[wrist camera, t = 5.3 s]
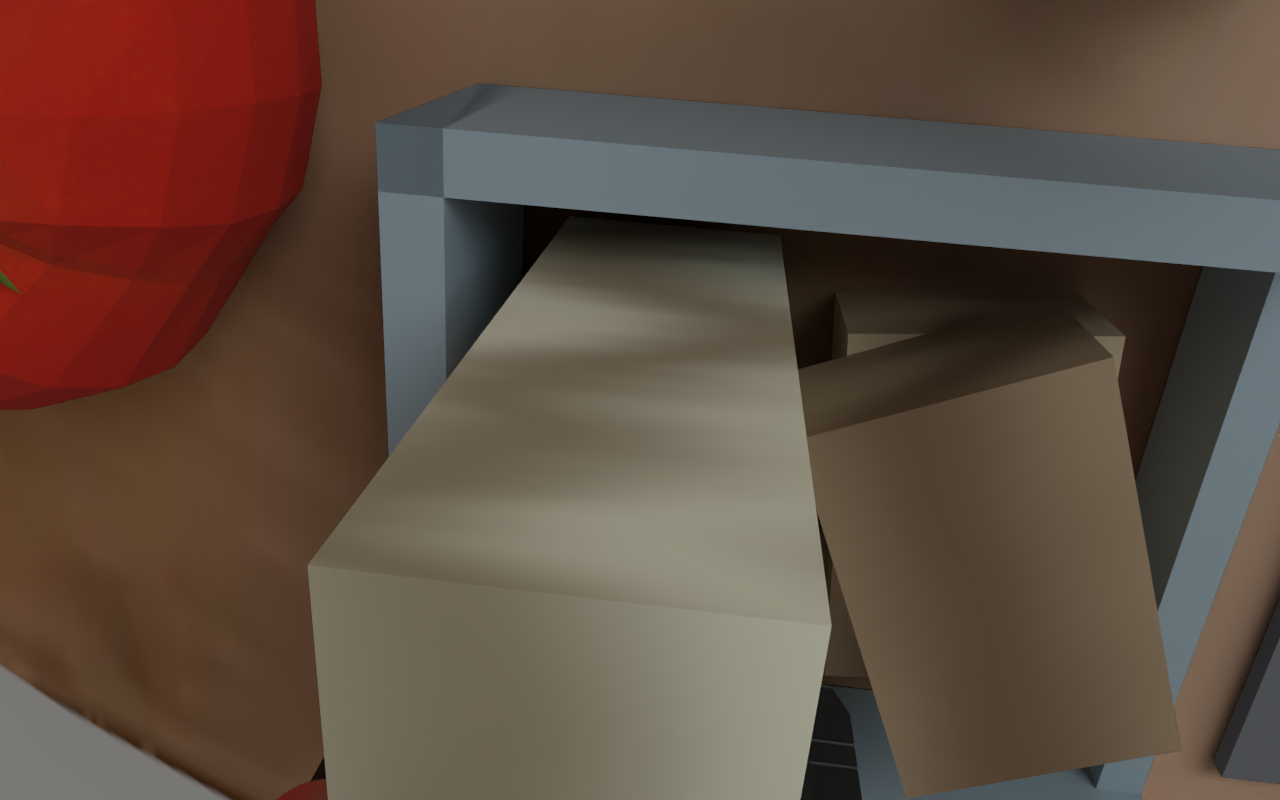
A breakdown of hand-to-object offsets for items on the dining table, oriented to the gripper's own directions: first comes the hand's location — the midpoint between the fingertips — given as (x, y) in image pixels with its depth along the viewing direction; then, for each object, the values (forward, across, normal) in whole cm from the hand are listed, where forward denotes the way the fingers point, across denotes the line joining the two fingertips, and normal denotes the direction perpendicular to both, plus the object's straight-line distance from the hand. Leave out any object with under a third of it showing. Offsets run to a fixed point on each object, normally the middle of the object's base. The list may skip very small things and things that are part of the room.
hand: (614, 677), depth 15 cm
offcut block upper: (+6, -6, 0) cm, 9 cm away
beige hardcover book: (+6, 0, 0) cm, 6 cm away
